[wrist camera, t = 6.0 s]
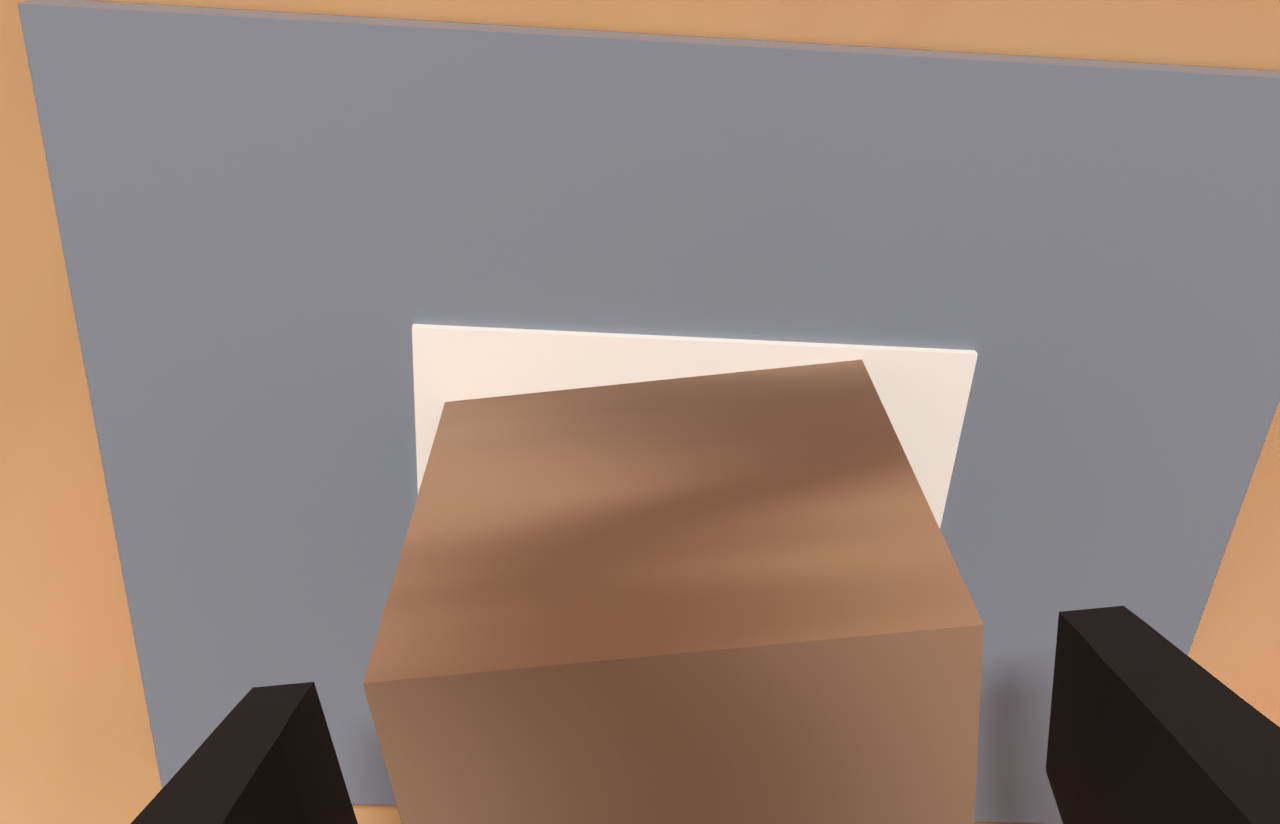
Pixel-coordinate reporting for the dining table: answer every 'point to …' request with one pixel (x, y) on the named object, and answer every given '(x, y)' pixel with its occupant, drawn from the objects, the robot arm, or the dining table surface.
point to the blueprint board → (644, 307)
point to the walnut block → (678, 613)
